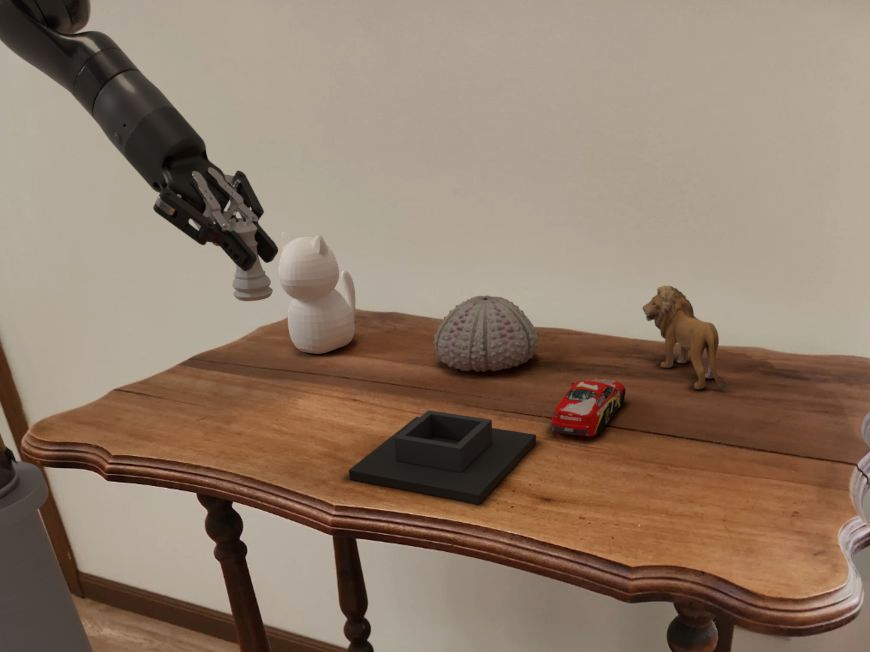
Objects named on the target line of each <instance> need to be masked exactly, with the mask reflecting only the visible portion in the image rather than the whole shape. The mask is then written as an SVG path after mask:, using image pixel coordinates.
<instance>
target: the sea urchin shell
mask: <svg viewBox="0 0 870 652" xmlns="http://www.w3.org/2000/svg"><path fill="white" fill-rule="evenodd" d="M538 334H539V331H537V329H536V327H535V326H534V324H533V323H532V322H531V320H530V319H529V318H528V316H527V315H526V314H525V312H524V310H521V309H520V307H519V305H516V304H515V303H514V302H513V301H511V300H509V299H507V298H504V297H502V296H491V295H478V296H473V297H471V298H468V299H466V300H465V301H462V302H461V303H459V304H455V307H454V308H453V309H452V310H449V311H448V314H447V315H446V316H443V320H442V322H441V323H439V326H438V329H437V330H436V334H434V336H433V338H434V341H433V342H432V344H433V345H434V348H433V350H434V351H435V352H436V356H437V357H438V358H439V359H440V362H442V363H443V364H445V365H447V366H448V368H455V370H460V372H464V371H465V372H469V371H475V372H483V373H484V372H486V371H492V372H496V371H500V372H501V370H503V369H504V370H507V369H511V368H513V367H519V366H520V365H522V364H525V363H527V362H528V361H529V360H531V359H533V357H534V354H536V353H537V349H538V347H539V340H540V339H539V337H538Z"/></svg>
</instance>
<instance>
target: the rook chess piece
mask: <svg viewBox="0 0 870 652" xmlns="http://www.w3.org/2000/svg"><path fill="white" fill-rule="evenodd" d="M237 218H238V220H239V222H237V223H236V220H235V219H231V220H229V225H230V230H229V231H232V230H234V231H235V232H236V233H237V234H238V235H239V236H240V237H241V239H242V240H243V241H244V242H245V243H246V244H247V245H248V247H249V248H250V249H251V250H252V251H253V252H254V253H255V255H256V257H257V260H256V262H255V263H254V265H253V266H252V268H251V269H250V270H248V271H243V270H242V269H241V268H240V267H239V266H238V265H236V264H235V273H234V278H233V280H232V288H233V289H234V290H235V291H233V294H232V295H233V296H234V297H235V298H236V300H238V301H242V302H258V301H263V300H266V299H268V298H270V297H271V296H272V294H273V292H274V289H273V288H272V287H270V285H271V283H272V281H271V278H270V277H269V276H268V274H267V275H266V271H265V270H264V269H263V265H262V264H261V261H260V256H259V255H258V253H257V248H256V246H257V244H258V243H257V242H256V241H255V238H254V235H255V233H256V231H257V227H256V226H255V225H254V224H253V221H252V219H250V218H246V222H243V218H242V217H237Z"/></svg>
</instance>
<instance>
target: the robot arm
mask: <svg viewBox="0 0 870 652" xmlns="http://www.w3.org/2000/svg"><path fill="white" fill-rule="evenodd" d="M91 12H92V5H91V0H0V41H1V42H2V43H3V44H4V45H5V46H6V47H7V48H8V49H9V50H10V51H11V52H13V53H14V54H15V55H16V56H18V57H19V58H21V59H22V60H23V61H25V62H26V63H28V64H29V65H31V66H32V67H34V68H35V69H37V70H39V71H40V72H41V73H43V74H44V75H45V76H47V77H48V78H50V79H51V80H52V81H54V82H55V83H57V84H58V85H60V86H61V87H62V88H64V89H65V90H67V91H68V92H69V93H70V94H71V95H72V96H73V97H74V99H75V100H76V101H77V102H78V103H79V104H80V105H81V107H82V108H83V109H84V110H85V111H86V112H87V113H88V115H89V116H90V117H92V120H94V121H95V122H96V124H97V125H98V126H99V128H100V129H101V130H102V132H103V133H104V134H105V136H106V137H107V139H108V140H109V141H110V142H111V144H112V145H113V146H114V147H115V148H116V150H118V152H119V153H120V154H121V155H122V156H123V157H124V158H125V160H126V161H127V162H128V163H129V164H130V165H131V166H132V167H133V169H134V170H135V171H136V172H137V173H138V174H139V176H141V178H142V179H143V180H144V181H145V182H146V184H148V185H149V186H150V188H151V189H152V190H153V191H154V192H156V193H159V194H158V196H157V199H156V201H155V202H154V205H153V207H152V209H153V210H154V213H156V214H157V215H158V216H160V217H161V218H163V219H164V220H165V221H167V222H168V223H170V224H171V225H172V226H174V227H175V228H177V229H178V230H179V231H181V232H182V233H183V234H185V235H186V236H187V237H189V238H191V240H193V241H195V242H196V243H197V244H199V245H200V246H206V245H207V243H211V244H212V245H214V247H215V246H216V247H220V249H222V250H223V252H225V254H226V255H227V257H229V258H230V260H231V261H232V262H233V263H234V264H235V266H236V265H238V266H239V267H240V268H241V269H242V270H243V271H248V270H250V269H251V268H252V266H253V265H254V263H255V262H256V260H257V257H256V255H255V253H254V252H253V251H252V250H251V249H250V248H249V247H248V245H247V244H246V243H245V242H244V241H243V240H242V239H241V237H240V236H239V235H238V234H237V233H236V232H235V231H234V230H232V231H229V230H230V225H229V220H231V219H235V220H236V223H237V222H239V220H238V218H239V217H237V213H238V214H239V215H240V218H243V222H246V218H250V219H252V221H253V224H254V225H255V226H256V227H257V231H256V233H255V235H254V238H255V241H256V242H257V243H258V244H257V246H256V248H257V253H258V257H259V258H260V259H261V260H262V261H263V262H264V263H265V264H269V263H271V262H273V261H274V259H275V257H276V256H277V254H278V253H279V248H278V247H279V246H277V244H276V242H275V241H274V240H273V239H272V237H270V235H268V233H267V232H266V231H265V230H264V229H263V227H262V226H261V225H260V224H259V221H260V219H261V218H262V217H263V215H264V213H265V210H264V208H263V206H262V204H261V202H260V200H259V198H258V196H257V195H256V192H255V190H254V189H253V187H252V185H251V183H250V181H249V179H248V177H247V175H246V173H244V172H243V171H242V170H237V171H235V174H234V175H230V174H225V173H224V172H223V170H222V169H221V168H220V167H218V166H217V165H216V164H214V163H213V162H212V161H210V159H209V157H208V154H207V153H208V152H207V145H206V143H205V141H204V139H203V138H202V136H201V135H199V133H198V132H197V131H196V130H195V129H194V127H193V126H192V125H191V124H190V123H189V122H188V121H187V120H186V118H185V117H184V116H183V115H182V114H181V112H180V111H179V110H178V109H177V108H176V107H175V106H174V104H173V103H172V102H171V101H170V100H169V99H168V97H166V95H165V94H164V93H163V92H162V91H161V90H160V89H159V88H158V87H157V86H156V85H155V84H154V83H153V82H152V81H150V80H149V79H148V78H147V77H146V76H145V75H144V73H143V72H142V71H141V70H140V69H139V68H138V67H137V65H136V64H134V62H133V61H132V60H131V58H130V57H129V56H128V55H127V54H126V53H125V52H124V51H123V50H122V48H121V47H120V46H119V45H118V44H117V42H115V40H113V39H112V37H110V36H109V35H108V34H106V33H104V32H102V31H99V30H87V31H82V30H84V29H85V28H86V27H87V25H88V24H89V21H90V19H91ZM80 31H81V32H80ZM229 202H230V204H229ZM228 204H229V206H228ZM227 206H228V207H227ZM226 208H227V210H226ZM225 210H226V211H225ZM190 220H191V221H192V222H193V224H194V225H195V226H196V227H194V226H193V225H192V224H190ZM12 461H14V462H15V463H16V464H17V462H16V461H17V460H16V457H15V454H14V451H13V450H12V449H11V448H9V447H8V446H6V444H5V441H4V438H3V436H2V433H0V498H2V497H4V496H6V495H7V494H9V493H10V492H11V491H13V490H14V489H15V488H16V486H17V485H18V483H19V476H18V473H17V471H16V469H15V468H14V466H13V464H12ZM17 465H18V464H17Z"/></svg>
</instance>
